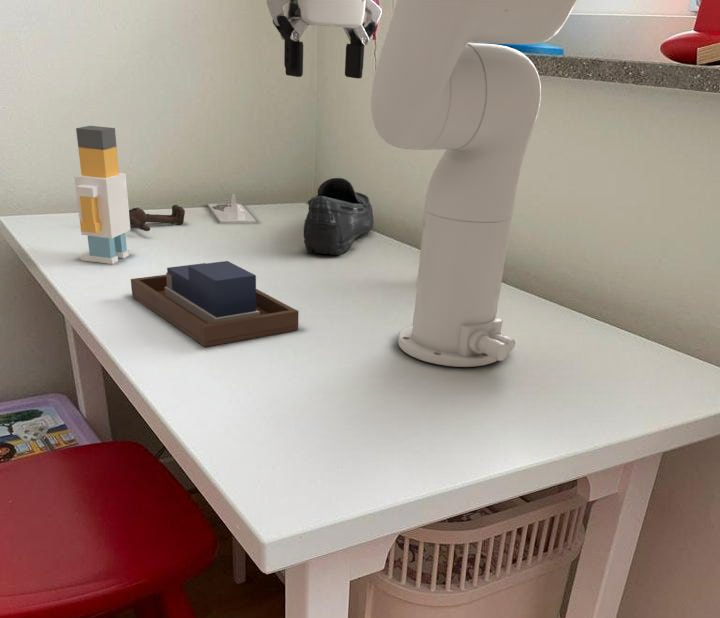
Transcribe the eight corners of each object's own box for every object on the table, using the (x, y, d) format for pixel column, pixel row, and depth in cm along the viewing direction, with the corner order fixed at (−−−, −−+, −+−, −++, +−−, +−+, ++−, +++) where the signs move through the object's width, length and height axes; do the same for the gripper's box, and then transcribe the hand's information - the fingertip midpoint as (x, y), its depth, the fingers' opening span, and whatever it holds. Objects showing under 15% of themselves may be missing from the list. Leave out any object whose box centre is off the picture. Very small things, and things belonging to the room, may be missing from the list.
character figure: (83, 267, 111) (67, 132, 102) (76, 249, 119) (61, 122, 110) (138, 265, 114) (127, 132, 105) (128, 247, 122) (117, 123, 113)
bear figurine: (203, 215, 131) (120, 212, 123) (202, 241, 133) (120, 240, 125) (160, 195, 144) (82, 191, 135) (160, 219, 146) (82, 216, 137)
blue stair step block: (215, 328, 91) (214, 281, 88) (164, 295, 100) (161, 252, 98) (259, 321, 94) (259, 275, 91) (206, 289, 104) (204, 247, 101)
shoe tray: (298, 330, 94) (298, 310, 93) (204, 347, 87) (204, 327, 86) (218, 285, 108) (217, 267, 107) (132, 297, 101) (130, 278, 100)
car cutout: (256, 223, 143) (256, 198, 140) (220, 223, 140) (219, 197, 138) (241, 206, 155) (240, 182, 152) (207, 206, 153) (206, 182, 150)
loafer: (377, 223, 148) (381, 167, 143) (361, 261, 123) (365, 195, 118) (324, 218, 149) (326, 162, 144) (298, 256, 124) (299, 189, 119)
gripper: (366, -70, 102) (358, 76, 111) (252, -88, 93) (254, 73, 101) (402, -72, 97) (391, 80, 106) (286, -92, 88) (284, 77, 96)
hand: (324, 76), depth 103 cm, fingers open, 9 cm apart
